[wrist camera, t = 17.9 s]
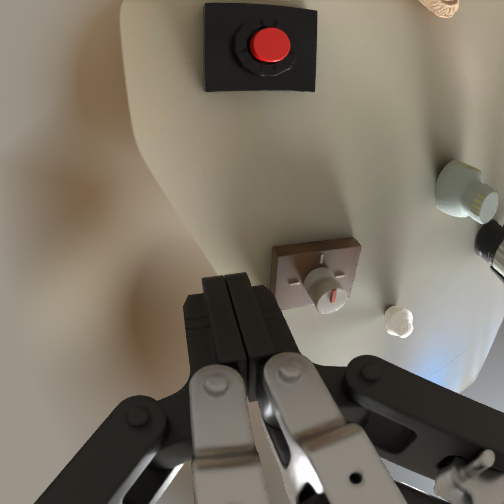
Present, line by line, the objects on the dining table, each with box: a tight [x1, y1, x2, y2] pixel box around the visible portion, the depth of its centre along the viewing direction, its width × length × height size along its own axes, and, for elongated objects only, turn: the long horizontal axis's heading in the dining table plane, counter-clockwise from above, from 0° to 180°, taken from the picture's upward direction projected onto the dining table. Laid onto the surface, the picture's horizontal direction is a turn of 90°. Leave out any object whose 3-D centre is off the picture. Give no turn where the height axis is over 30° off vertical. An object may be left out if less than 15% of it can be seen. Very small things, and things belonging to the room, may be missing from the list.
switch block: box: [203, 3, 317, 93], centre depth 27 cm, size 12×10×4 cm
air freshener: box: [435, 160, 499, 224], centre depth 41 cm, size 11×8×10 cm
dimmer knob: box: [304, 267, 347, 314], centre depth 43 cm, size 5×5×5 cm
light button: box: [250, 27, 290, 62], centre depth 25 cm, size 4×4×2 cm
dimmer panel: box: [270, 237, 362, 310], centre depth 47 cm, size 13×10×3 cm
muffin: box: [385, 305, 413, 338], centre depth 56 cm, size 6×6×7 cm
